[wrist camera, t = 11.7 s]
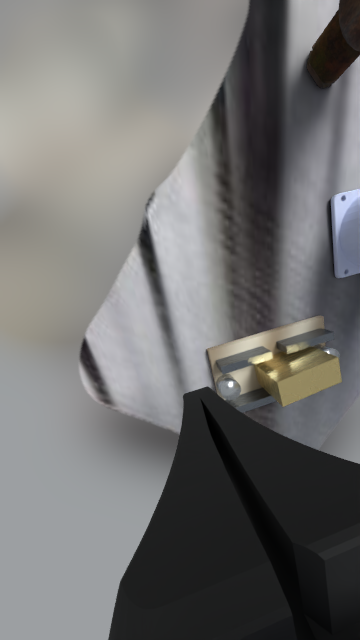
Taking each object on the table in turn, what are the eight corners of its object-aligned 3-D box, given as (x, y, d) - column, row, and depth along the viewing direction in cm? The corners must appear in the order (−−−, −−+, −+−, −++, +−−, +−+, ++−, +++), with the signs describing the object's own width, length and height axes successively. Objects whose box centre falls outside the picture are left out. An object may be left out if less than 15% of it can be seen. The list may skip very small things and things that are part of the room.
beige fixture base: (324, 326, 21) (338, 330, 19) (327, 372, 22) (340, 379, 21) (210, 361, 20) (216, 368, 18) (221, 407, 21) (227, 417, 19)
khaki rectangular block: (303, 342, 21) (338, 357, 17) (307, 363, 21) (341, 381, 18) (253, 362, 20) (277, 382, 16) (258, 383, 21) (283, 406, 17)
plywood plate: (318, 315, 21) (323, 316, 21) (323, 378, 23) (328, 381, 22) (206, 348, 20) (208, 351, 19) (221, 413, 22) (223, 416, 21)
